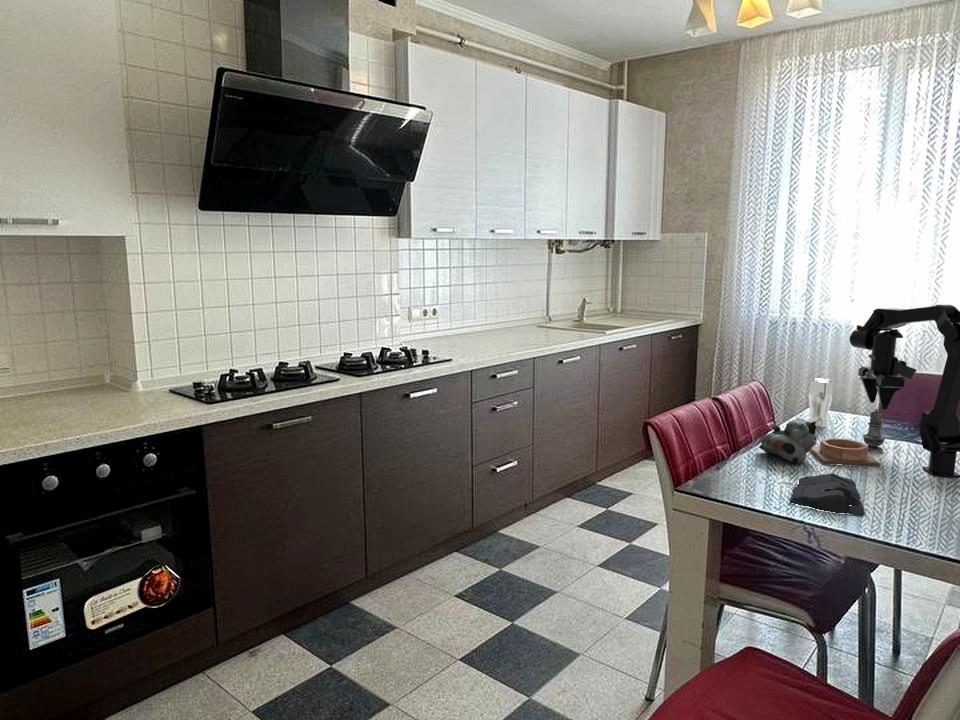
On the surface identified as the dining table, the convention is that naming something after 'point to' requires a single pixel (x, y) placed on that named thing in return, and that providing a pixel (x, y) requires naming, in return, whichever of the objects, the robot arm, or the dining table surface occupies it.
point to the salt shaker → (874, 432)
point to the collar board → (844, 453)
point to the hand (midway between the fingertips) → (878, 405)
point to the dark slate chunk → (828, 494)
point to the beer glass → (820, 401)
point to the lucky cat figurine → (791, 440)
